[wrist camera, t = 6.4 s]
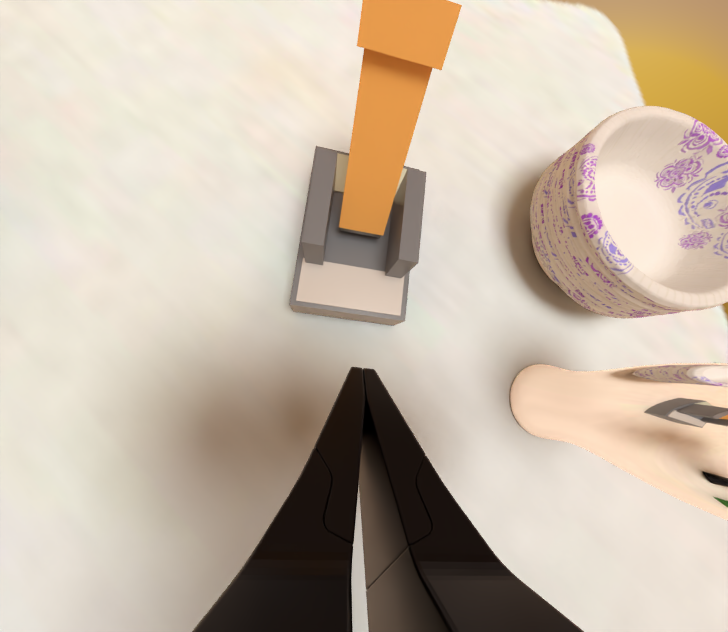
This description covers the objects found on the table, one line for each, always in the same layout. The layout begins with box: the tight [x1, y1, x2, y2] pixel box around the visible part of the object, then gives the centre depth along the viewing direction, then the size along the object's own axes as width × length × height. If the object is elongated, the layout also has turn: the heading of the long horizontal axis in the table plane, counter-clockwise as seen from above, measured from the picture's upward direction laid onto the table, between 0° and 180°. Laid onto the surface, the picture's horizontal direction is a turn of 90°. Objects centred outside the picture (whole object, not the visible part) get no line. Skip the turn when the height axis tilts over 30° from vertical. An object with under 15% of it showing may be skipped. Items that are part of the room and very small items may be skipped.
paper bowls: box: [530, 106, 728, 318], centre depth 22 cm, size 15×15×8 cm
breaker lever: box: [339, 0, 462, 238], centre depth 14 cm, size 3×4×11 cm
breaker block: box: [289, 146, 426, 326], centre depth 19 cm, size 12×8×6 cm, turn 172°
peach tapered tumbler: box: [510, 363, 728, 521], centre depth 15 cm, size 7×7×15 cm
